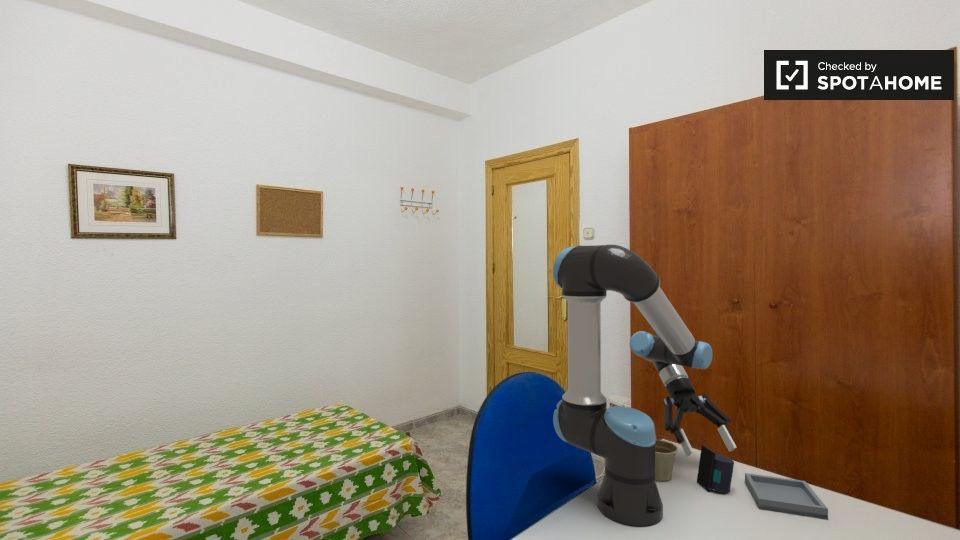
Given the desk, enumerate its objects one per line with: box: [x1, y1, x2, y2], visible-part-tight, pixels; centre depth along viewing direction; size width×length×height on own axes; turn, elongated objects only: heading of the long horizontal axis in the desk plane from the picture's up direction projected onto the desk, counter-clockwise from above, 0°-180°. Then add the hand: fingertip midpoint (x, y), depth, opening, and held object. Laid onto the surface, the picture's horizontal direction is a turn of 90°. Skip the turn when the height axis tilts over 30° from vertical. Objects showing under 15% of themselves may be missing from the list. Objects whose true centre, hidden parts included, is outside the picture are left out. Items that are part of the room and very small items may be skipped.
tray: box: [744, 472, 829, 520], centre depth 111 cm, size 14×14×2 cm
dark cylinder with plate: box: [696, 444, 735, 494], centre depth 117 cm, size 8×6×10 cm
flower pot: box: [655, 439, 679, 482], centre depth 124 cm, size 9×9×9 cm
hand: (711, 451), depth 121 cm, fingers open, 13 cm apart
